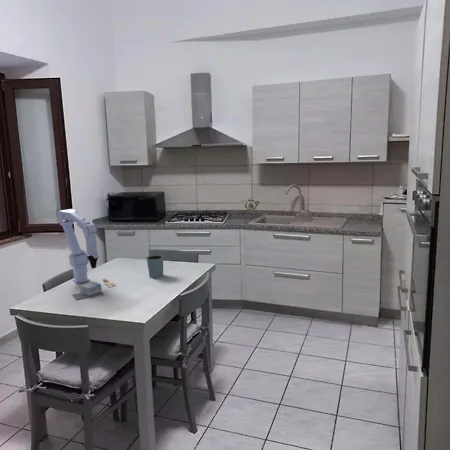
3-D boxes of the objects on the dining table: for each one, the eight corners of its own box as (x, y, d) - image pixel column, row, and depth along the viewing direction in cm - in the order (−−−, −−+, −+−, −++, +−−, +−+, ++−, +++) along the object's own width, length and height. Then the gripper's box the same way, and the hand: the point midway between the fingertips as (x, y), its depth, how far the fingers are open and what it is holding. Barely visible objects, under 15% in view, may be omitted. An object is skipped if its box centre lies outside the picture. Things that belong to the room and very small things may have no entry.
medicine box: (80, 293, 219) (89, 296, 214) (79, 285, 218) (88, 288, 213) (92, 289, 225) (102, 291, 220) (91, 281, 224) (101, 284, 219)
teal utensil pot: (166, 273, 251) (165, 255, 249) (162, 278, 241) (160, 259, 239) (150, 273, 252) (149, 255, 250) (145, 278, 242) (144, 259, 240)
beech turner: (100, 281, 240) (100, 279, 240) (107, 279, 243) (107, 277, 243) (108, 287, 228) (108, 286, 228) (116, 286, 231) (116, 284, 230)
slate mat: (72, 295, 218) (72, 294, 218) (98, 289, 225) (98, 288, 225) (77, 300, 210) (77, 299, 210) (103, 294, 217) (103, 293, 217)
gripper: (80, 243, 232) (83, 266, 235) (87, 248, 220) (90, 272, 223) (93, 242, 236) (95, 264, 239) (100, 246, 224) (103, 269, 227)
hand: (93, 267), depth 231 cm, fingers closed
